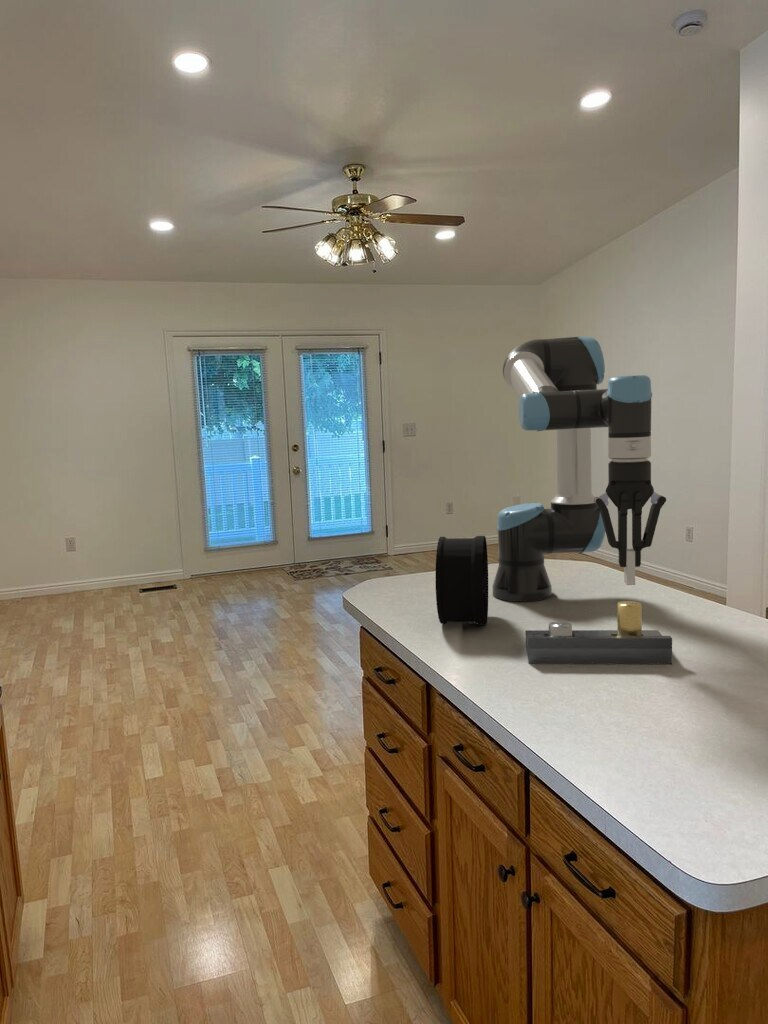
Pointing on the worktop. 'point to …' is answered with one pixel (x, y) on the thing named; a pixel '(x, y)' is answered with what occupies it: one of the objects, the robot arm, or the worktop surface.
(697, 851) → the worktop surface
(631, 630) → the gold metal cylinder
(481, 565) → the car wheel rim
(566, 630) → the silver metal cylinder
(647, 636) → the jig
